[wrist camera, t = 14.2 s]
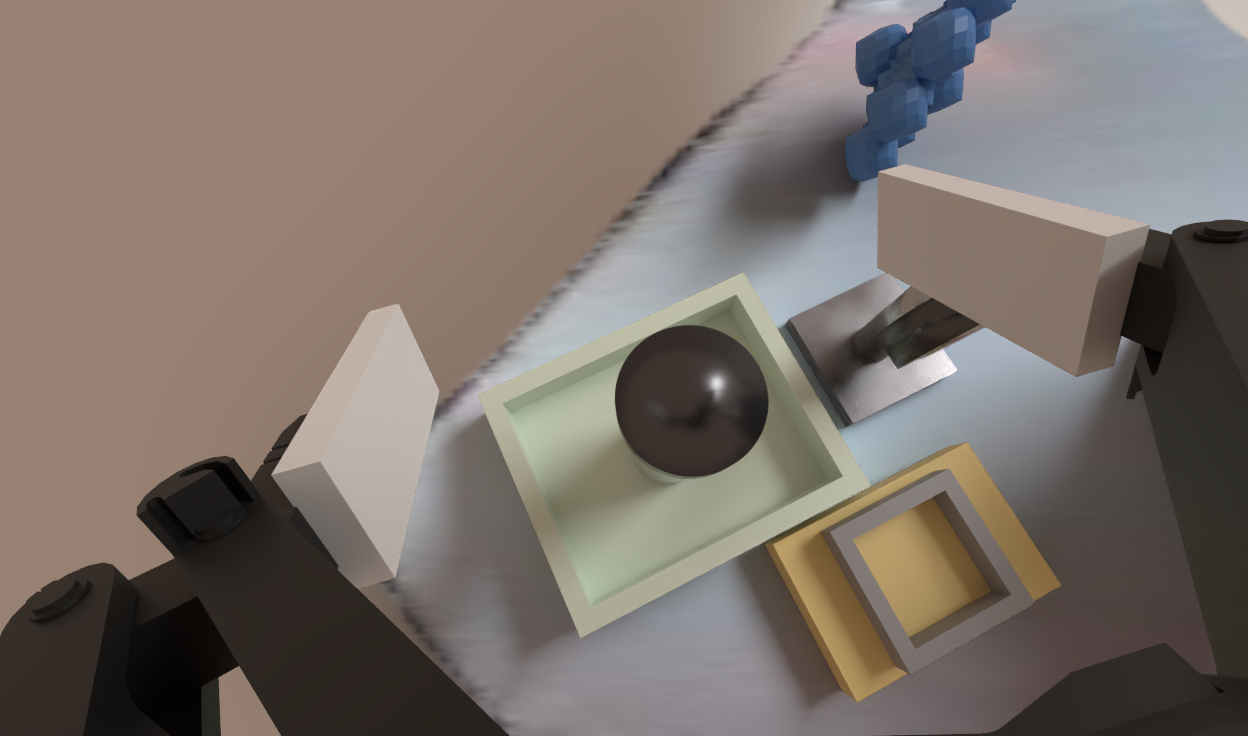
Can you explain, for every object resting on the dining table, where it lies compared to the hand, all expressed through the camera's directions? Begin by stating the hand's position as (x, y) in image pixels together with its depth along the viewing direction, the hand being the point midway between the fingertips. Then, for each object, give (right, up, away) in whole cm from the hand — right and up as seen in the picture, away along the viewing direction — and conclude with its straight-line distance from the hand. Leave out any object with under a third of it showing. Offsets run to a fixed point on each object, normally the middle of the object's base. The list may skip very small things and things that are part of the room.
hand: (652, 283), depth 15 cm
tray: (+2, -7, +17) cm, 18 cm away
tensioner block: (+14, -13, +15) cm, 24 cm away
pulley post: (+14, -1, +18) cm, 23 cm away
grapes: (+16, +13, +23) cm, 30 cm away
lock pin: (+2, -7, +16) cm, 17 cm away
